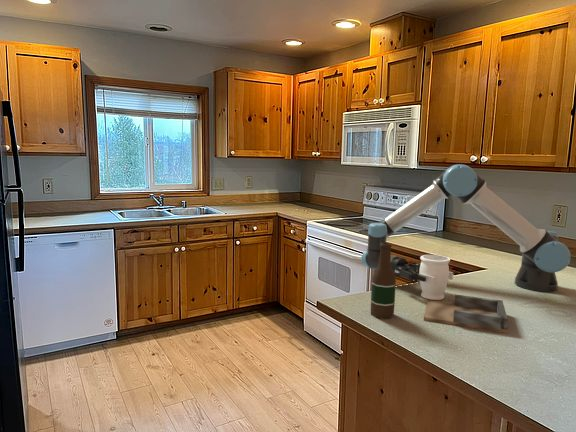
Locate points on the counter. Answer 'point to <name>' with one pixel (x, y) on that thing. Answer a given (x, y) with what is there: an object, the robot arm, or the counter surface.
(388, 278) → the beer bottle
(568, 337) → the counter surface
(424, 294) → the jar
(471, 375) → the counter surface
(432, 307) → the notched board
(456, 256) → the counter surface
